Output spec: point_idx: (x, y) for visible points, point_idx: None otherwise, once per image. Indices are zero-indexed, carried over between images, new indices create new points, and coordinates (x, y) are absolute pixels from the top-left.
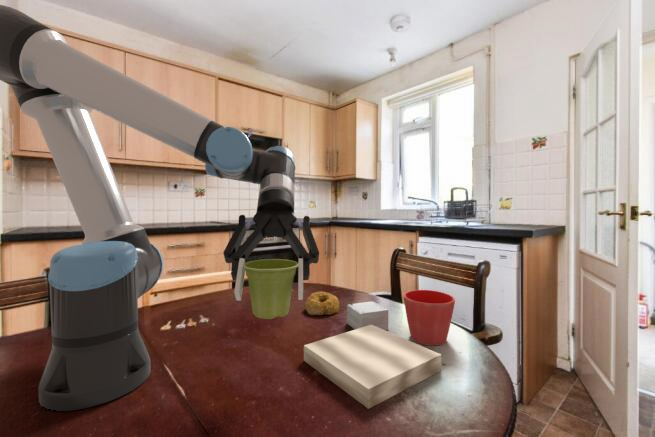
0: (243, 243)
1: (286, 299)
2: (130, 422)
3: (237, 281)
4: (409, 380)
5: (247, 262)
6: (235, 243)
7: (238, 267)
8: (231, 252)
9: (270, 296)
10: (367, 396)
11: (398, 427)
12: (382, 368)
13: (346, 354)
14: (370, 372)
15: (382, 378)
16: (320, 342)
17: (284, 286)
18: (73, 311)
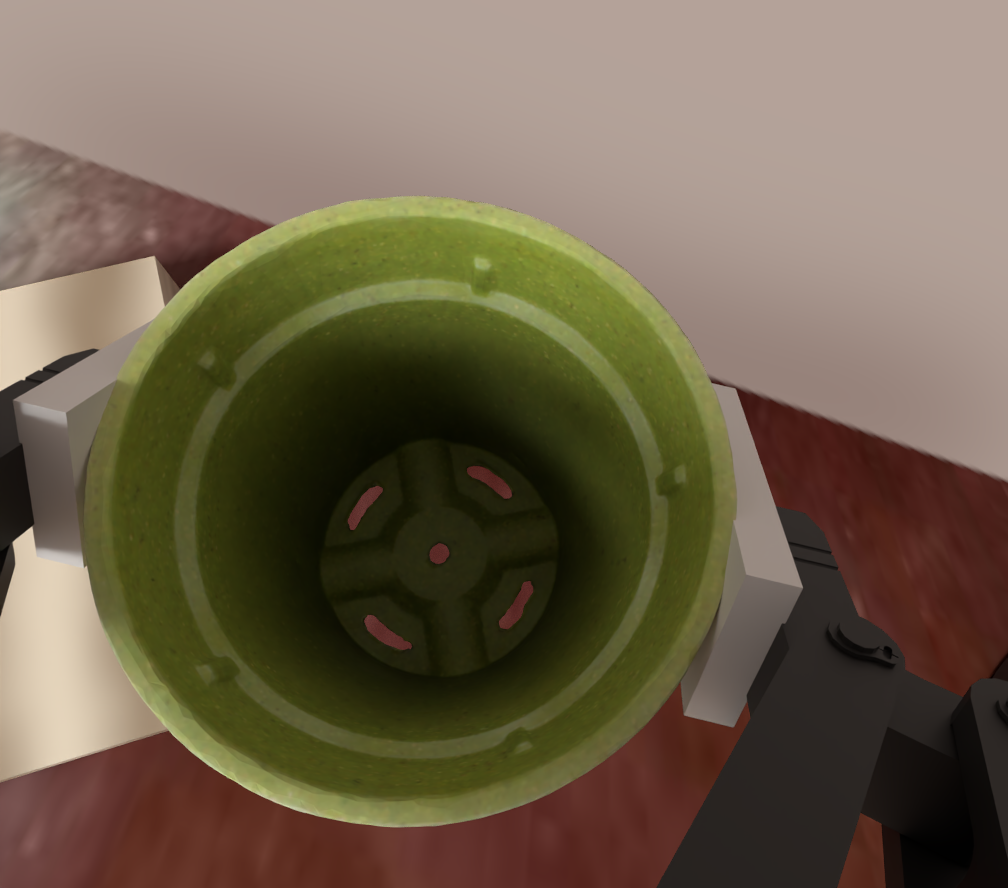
0: (851, 820)
1: (343, 420)
2: (915, 486)
3: (736, 429)
4: None
5: (683, 646)
6: (1002, 876)
7: (773, 511)
8: (960, 743)
9: (466, 373)
10: (166, 276)
11: (147, 196)
12: (12, 354)
13: None
14: (78, 346)
15: (63, 293)
16: (142, 708)
17: (350, 350)
18: None
